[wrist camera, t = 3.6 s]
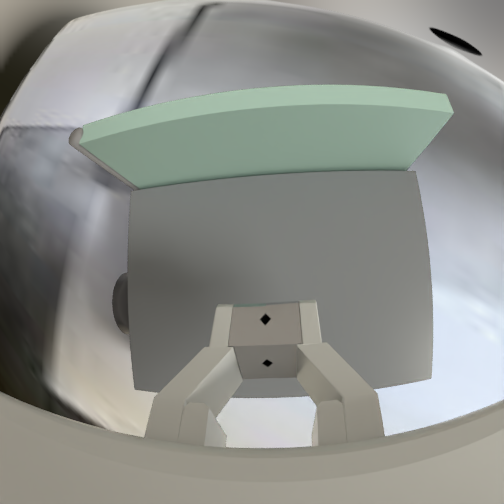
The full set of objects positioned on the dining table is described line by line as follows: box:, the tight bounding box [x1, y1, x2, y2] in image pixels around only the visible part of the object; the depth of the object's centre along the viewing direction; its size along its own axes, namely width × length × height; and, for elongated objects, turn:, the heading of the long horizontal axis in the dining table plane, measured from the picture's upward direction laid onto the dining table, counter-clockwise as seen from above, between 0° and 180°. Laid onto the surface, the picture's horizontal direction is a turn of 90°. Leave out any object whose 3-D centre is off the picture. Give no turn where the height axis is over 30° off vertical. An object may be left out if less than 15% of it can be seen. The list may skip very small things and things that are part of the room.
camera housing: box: [112, 171, 433, 398], centre depth 21 cm, size 22×14×7 cm, turn 92°
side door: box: [69, 85, 454, 190], centre depth 19 cm, size 20×2×14 cm, turn 92°
